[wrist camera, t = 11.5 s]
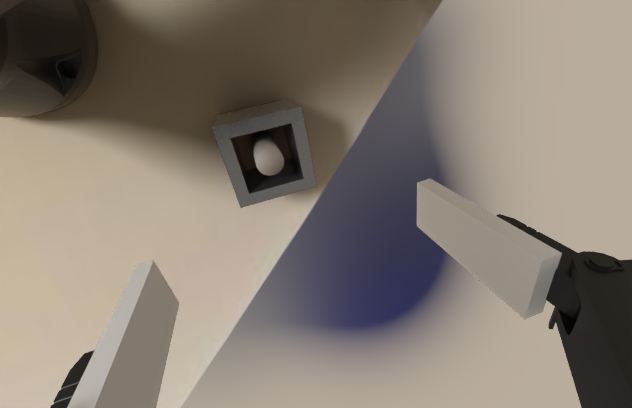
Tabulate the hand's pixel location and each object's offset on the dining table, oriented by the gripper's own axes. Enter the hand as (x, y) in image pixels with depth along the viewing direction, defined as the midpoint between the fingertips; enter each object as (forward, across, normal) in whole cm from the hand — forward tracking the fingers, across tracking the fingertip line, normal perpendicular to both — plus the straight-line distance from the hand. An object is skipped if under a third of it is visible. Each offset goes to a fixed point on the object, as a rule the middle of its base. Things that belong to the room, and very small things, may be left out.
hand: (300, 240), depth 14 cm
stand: (+22, 0, 0) cm, 22 cm away
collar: (+21, 0, 0) cm, 21 cm away
